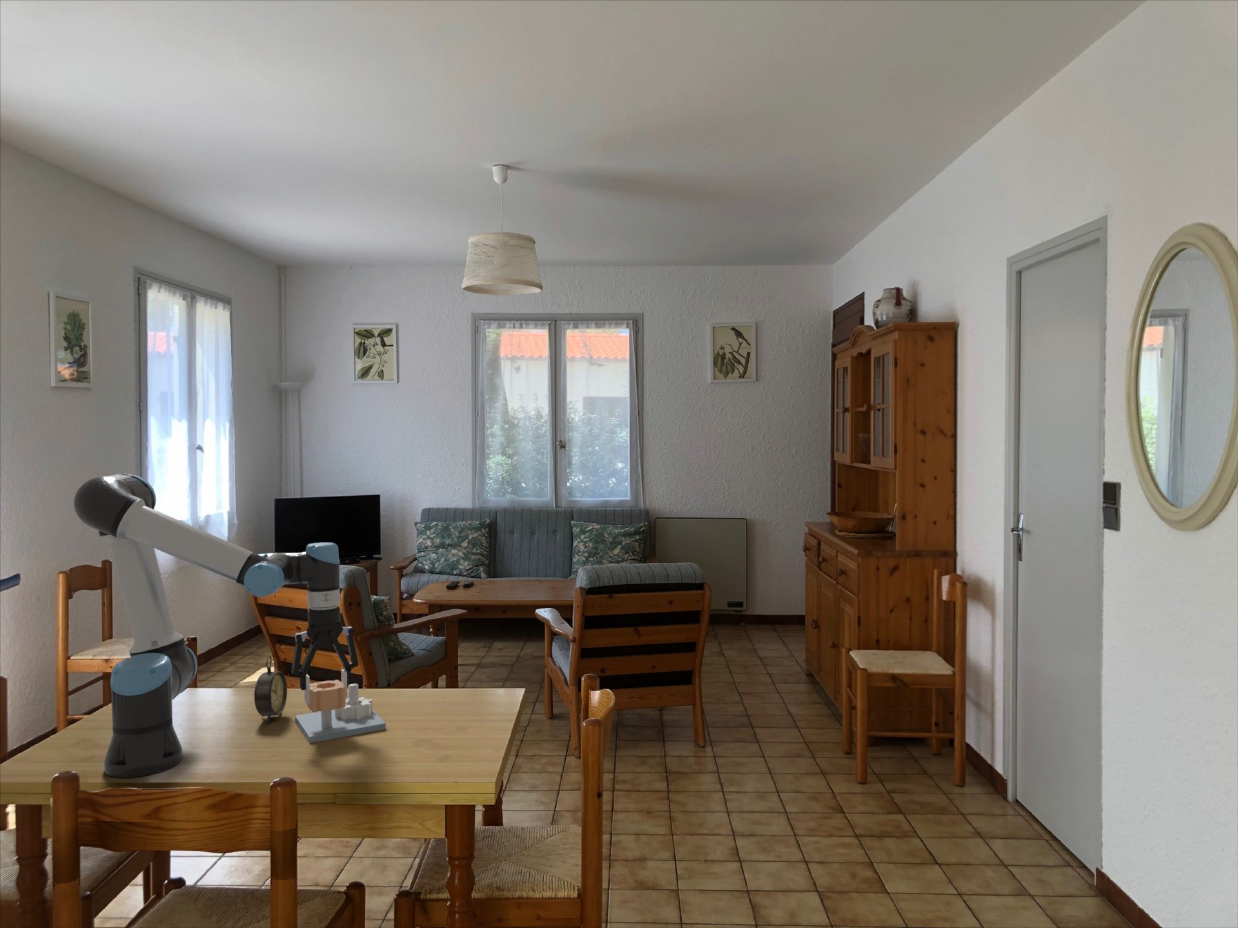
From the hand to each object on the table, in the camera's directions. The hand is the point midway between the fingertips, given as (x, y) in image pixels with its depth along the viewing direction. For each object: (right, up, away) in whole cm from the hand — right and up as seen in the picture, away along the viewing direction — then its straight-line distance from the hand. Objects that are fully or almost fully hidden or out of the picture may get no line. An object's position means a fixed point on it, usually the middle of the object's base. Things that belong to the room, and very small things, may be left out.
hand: (326, 699), depth 209 cm
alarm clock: (-18, -8, +11) cm, 23 cm away
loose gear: (0, -2, 0) cm, 2 cm away
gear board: (+1, -8, +6) cm, 10 cm away
